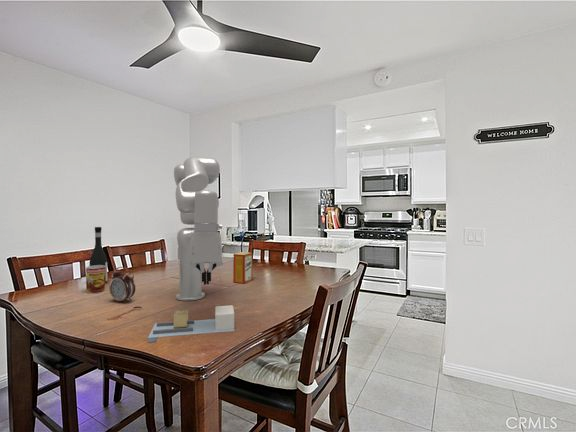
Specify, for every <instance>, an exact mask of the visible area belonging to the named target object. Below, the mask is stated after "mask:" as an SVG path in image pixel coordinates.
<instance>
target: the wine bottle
mask: <svg viewBox="0 0 576 432" xmlns="http://www.w3.org/2000/svg"><path fill="white" fill-rule="evenodd" d="M94 236H95V237H94V238H95V242H94V249H93V250H92V253H91V256H90V257H89V258H90V259H89V266H94V265H104V266H105V284H107V282H108V258H107V255H106V253H105V251H104V248H103V247H102V226H95V227H94Z"/></svg>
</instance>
